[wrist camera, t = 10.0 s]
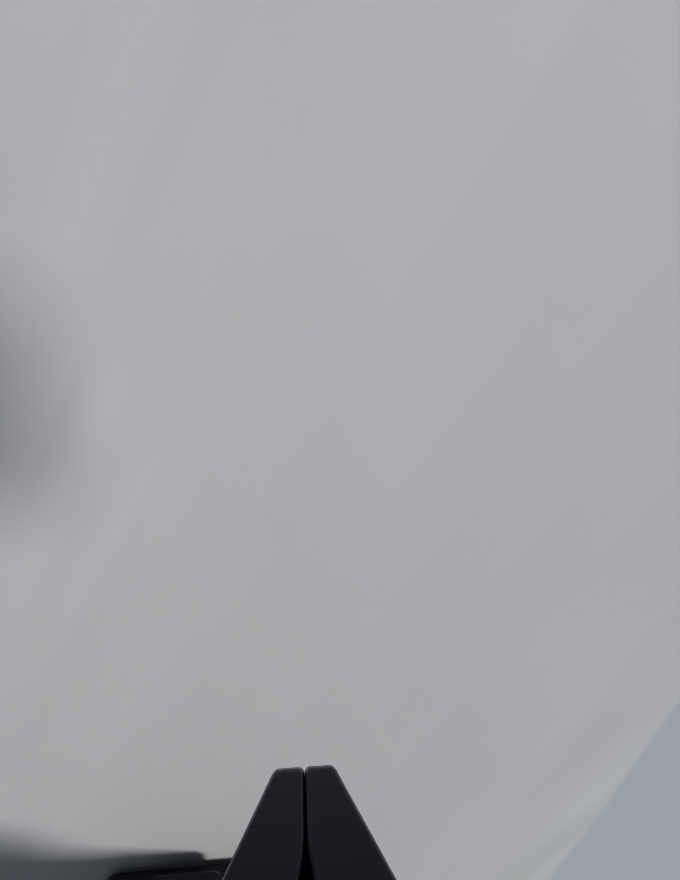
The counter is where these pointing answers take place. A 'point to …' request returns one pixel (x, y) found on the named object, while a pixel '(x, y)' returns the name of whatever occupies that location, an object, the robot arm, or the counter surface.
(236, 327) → the counter surface
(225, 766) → the counter surface
